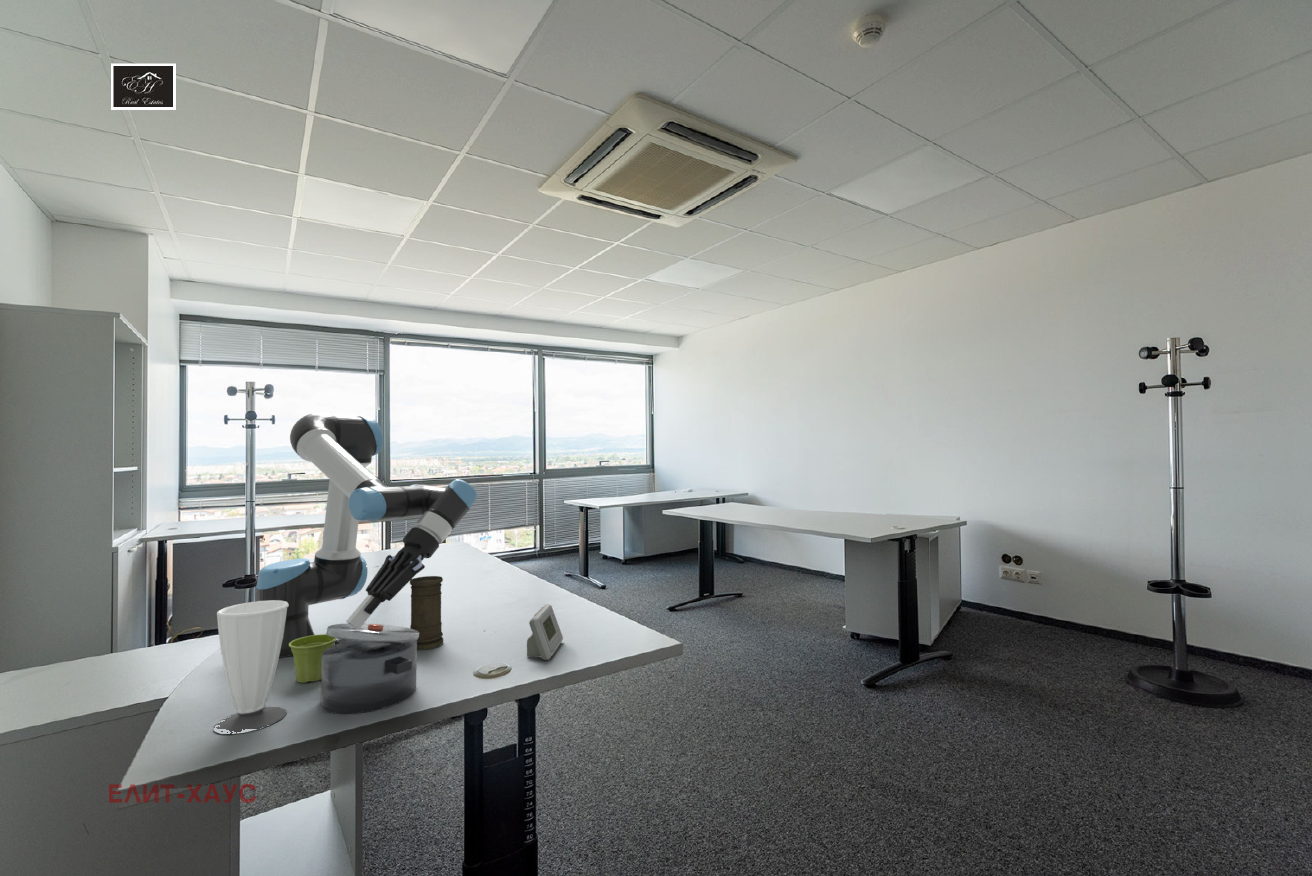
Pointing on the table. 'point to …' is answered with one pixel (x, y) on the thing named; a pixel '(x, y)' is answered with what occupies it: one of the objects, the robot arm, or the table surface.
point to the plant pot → (310, 656)
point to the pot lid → (373, 633)
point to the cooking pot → (367, 675)
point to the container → (426, 611)
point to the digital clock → (544, 634)
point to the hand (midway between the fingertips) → (352, 625)
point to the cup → (251, 660)
